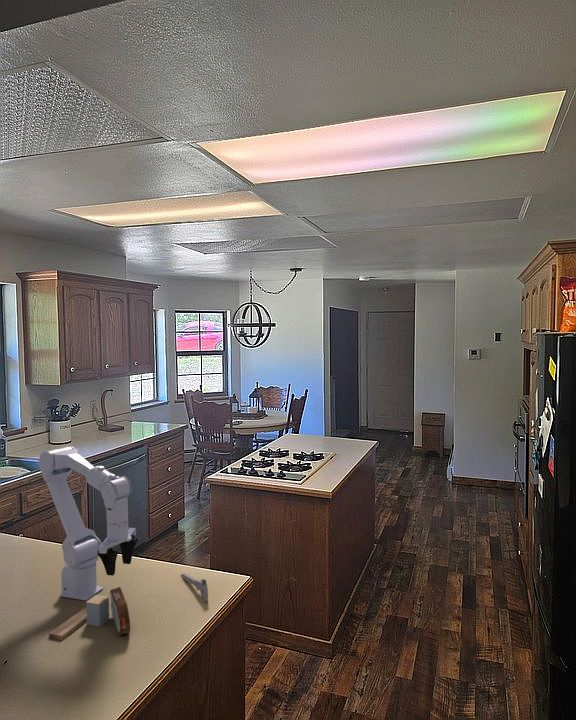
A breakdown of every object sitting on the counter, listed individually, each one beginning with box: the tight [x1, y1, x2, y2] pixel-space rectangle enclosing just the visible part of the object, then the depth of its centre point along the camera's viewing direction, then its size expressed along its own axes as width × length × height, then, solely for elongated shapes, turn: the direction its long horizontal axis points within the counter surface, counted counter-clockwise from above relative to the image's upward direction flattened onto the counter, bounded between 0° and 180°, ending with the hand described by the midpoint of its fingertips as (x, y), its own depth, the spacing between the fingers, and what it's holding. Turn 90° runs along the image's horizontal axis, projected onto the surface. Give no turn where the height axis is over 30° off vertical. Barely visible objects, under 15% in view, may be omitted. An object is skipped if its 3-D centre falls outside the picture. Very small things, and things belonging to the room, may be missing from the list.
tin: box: [109, 586, 131, 636], centre depth 136 cm, size 15×3×8 cm, turn 28°
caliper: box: [180, 572, 209, 603], centre depth 157 cm, size 20×1×6 cm, turn 31°
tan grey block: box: [85, 594, 110, 627], centre depth 138 cm, size 4×4×6 cm
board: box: [48, 606, 87, 641], centre depth 137 cm, size 4×14×1 cm, turn 163°
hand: (118, 569), depth 147 cm, fingers open, 7 cm apart
